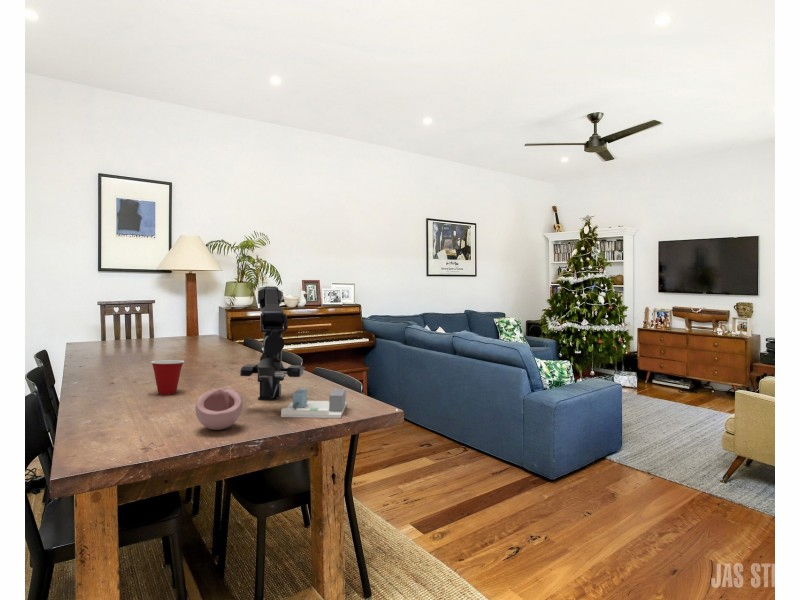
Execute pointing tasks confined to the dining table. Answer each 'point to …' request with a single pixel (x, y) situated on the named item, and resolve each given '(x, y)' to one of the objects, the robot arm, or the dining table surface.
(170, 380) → the plastic cup
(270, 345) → the robot arm
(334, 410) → the frame
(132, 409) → the dining table surface
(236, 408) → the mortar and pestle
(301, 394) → the plunger
